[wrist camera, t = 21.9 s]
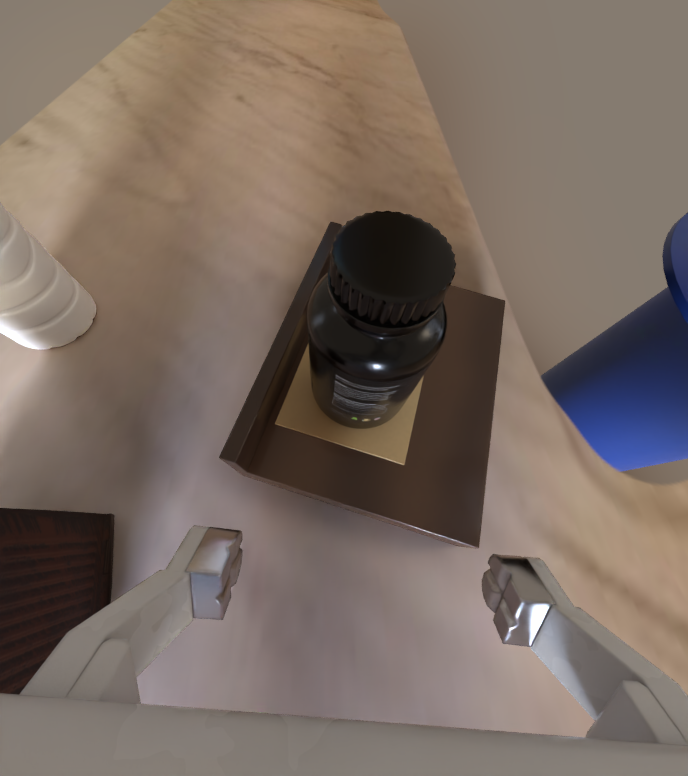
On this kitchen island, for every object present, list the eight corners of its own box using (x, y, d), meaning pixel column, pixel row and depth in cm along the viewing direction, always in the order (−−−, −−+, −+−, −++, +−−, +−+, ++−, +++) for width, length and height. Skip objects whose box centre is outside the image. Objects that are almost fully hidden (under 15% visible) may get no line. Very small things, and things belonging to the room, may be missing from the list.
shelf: (488, 321, 30) (526, 275, 25) (459, 546, 22) (505, 551, 16) (328, 275, 31) (330, 220, 26) (242, 475, 23) (218, 457, 17)
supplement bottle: (424, 390, 23) (519, 264, 12) (356, 452, 21) (396, 365, 10) (360, 329, 25) (392, 171, 14) (291, 380, 23) (265, 241, 12)
